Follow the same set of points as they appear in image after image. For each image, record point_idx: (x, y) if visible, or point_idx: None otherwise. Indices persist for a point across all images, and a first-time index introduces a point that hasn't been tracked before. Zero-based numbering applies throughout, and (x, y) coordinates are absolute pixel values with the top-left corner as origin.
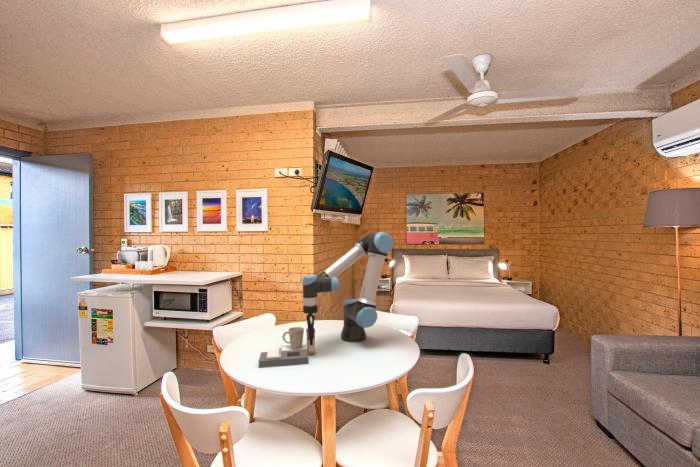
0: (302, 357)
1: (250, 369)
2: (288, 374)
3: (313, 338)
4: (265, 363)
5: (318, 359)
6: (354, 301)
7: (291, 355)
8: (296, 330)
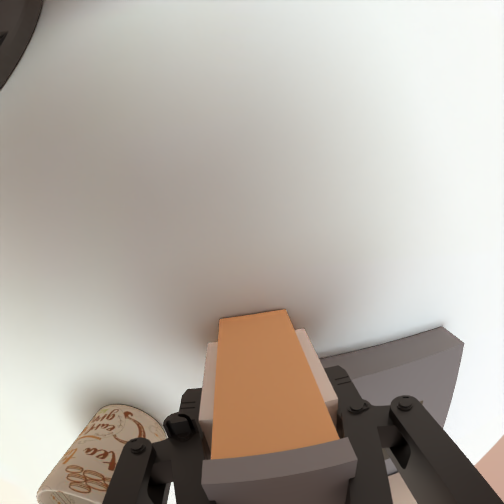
0: (452, 376)
1: None
2: (501, 377)
3: (405, 398)
4: None
5: (396, 270)
6: None
7: None
8: (59, 497)
